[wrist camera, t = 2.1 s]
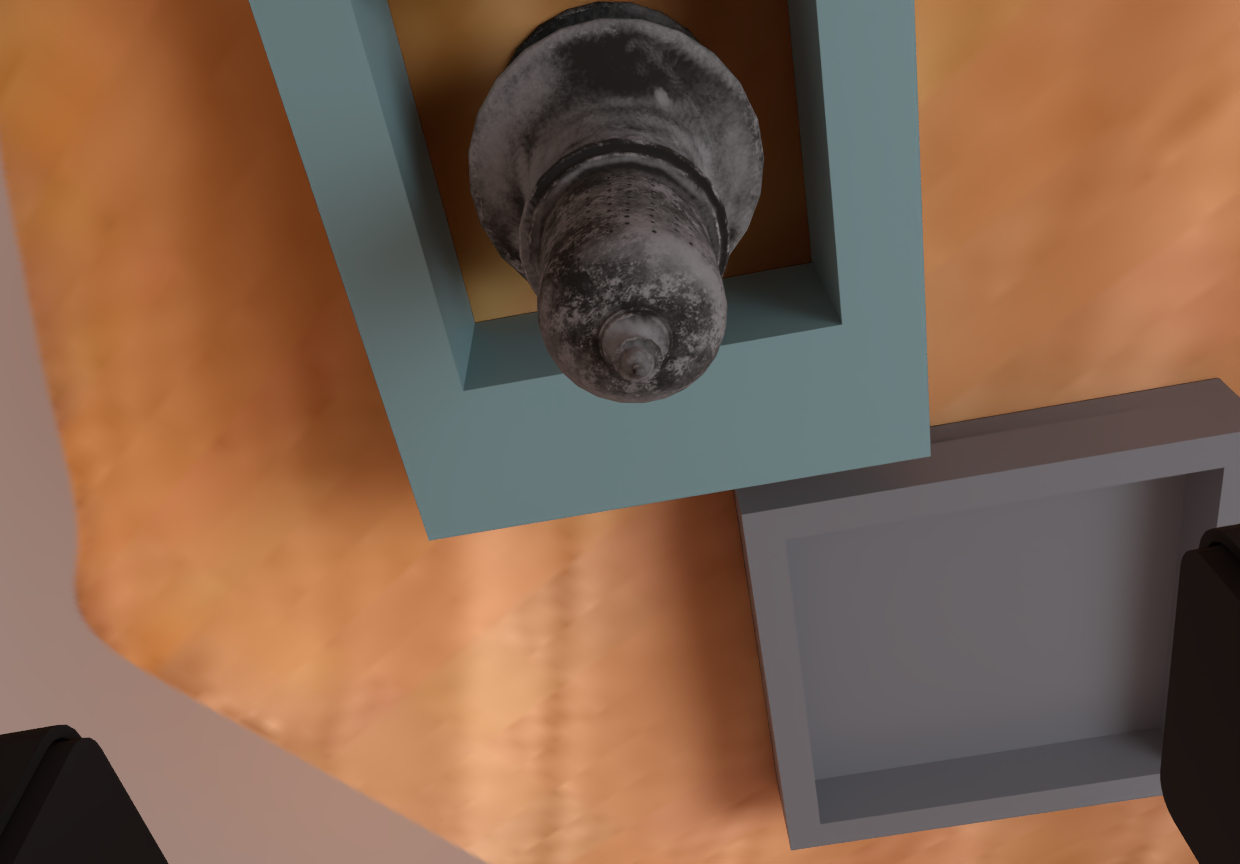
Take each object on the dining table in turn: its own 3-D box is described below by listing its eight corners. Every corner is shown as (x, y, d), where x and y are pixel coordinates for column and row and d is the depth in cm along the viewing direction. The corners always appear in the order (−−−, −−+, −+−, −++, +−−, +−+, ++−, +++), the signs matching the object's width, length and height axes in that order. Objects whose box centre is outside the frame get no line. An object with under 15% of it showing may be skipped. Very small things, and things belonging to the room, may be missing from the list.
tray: (729, 460, 30) (741, 514, 28) (1219, 377, 29) (1270, 426, 27) (777, 786, 36) (790, 850, 34) (1177, 726, 36) (1215, 787, 33)
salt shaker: (585, 292, 27) (593, 612, 17) (425, 96, 24) (320, 334, 14) (789, 150, 25) (937, 410, 15) (642, -75, 23) (700, 53, 13)
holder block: (229, -227, 21) (172, -227, 18) (852, -360, 20) (900, -381, 17) (443, 461, 29) (429, 540, 26) (892, 384, 29) (930, 456, 26)
